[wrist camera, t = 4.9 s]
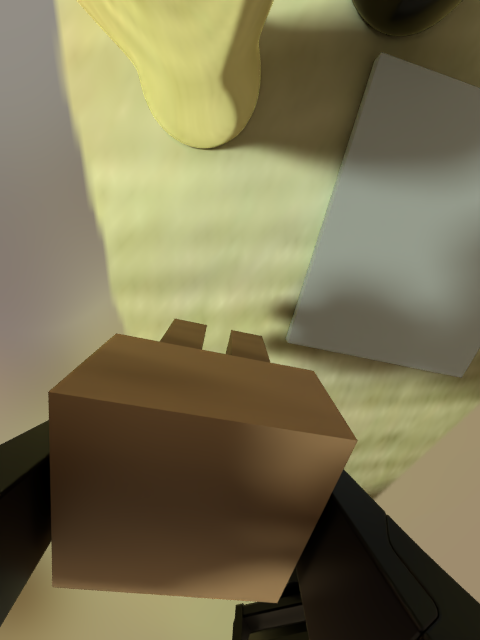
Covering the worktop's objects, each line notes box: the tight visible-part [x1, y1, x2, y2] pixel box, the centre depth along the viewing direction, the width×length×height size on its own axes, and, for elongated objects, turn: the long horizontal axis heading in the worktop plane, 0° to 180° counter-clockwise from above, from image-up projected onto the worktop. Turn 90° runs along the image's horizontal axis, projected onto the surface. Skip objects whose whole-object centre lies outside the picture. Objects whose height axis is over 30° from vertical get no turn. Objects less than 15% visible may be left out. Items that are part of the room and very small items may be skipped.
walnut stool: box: [48, 319, 357, 603], centre depth 8 cm, size 6×6×6 cm
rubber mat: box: [286, 52, 480, 378], centre depth 15 cm, size 16×14×1 cm
